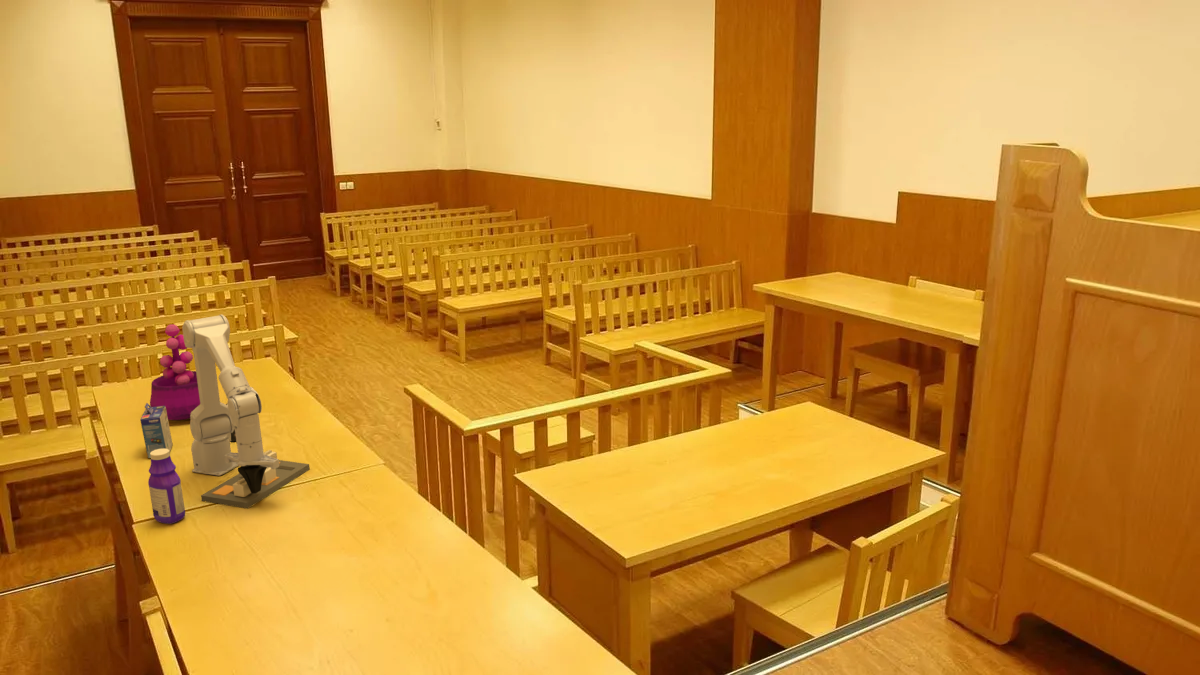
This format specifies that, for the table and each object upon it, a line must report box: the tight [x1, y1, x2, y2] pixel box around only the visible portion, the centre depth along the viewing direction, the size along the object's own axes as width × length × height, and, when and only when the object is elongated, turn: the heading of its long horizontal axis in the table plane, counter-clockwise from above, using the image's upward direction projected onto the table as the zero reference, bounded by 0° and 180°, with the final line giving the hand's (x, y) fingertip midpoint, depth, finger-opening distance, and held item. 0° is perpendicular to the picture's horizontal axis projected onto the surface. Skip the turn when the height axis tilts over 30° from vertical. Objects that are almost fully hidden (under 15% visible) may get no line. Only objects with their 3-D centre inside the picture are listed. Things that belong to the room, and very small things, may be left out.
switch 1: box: [233, 478, 251, 497], centre depth 214 cm, size 3×4×4 cm
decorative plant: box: [149, 324, 200, 421], centre depth 269 cm, size 19×19×30 cm
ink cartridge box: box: [139, 402, 173, 459], centre depth 244 cm, size 10×6×14 cm, turn 18°
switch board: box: [200, 459, 311, 509], centre depth 223 cm, size 14×24×2 cm, turn 161°
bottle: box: [147, 449, 186, 525], centre depth 203 cm, size 7×6×17 cm
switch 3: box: [262, 467, 276, 484], centre depth 222 cm, size 3×4×4 cm
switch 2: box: [263, 449, 278, 459], centre depth 231 cm, size 3×4×4 cm
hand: (256, 491), depth 213 cm, fingers closed
